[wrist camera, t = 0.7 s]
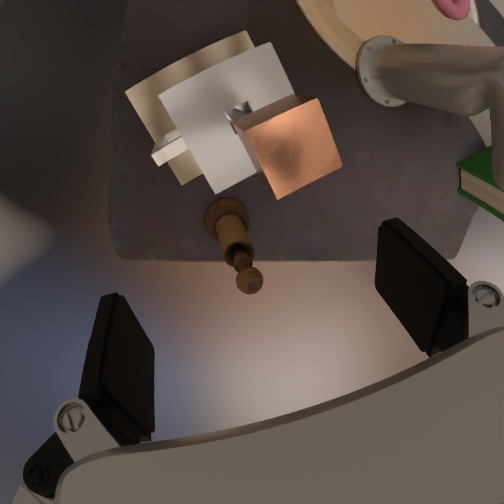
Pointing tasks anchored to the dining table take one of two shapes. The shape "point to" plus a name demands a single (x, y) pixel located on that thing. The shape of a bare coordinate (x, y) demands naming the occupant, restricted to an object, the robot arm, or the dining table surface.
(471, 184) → the hardback book
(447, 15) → the doughnut
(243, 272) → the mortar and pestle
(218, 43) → the birch board
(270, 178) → the brown square-faced block
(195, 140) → the press pot
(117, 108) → the dining table surface
